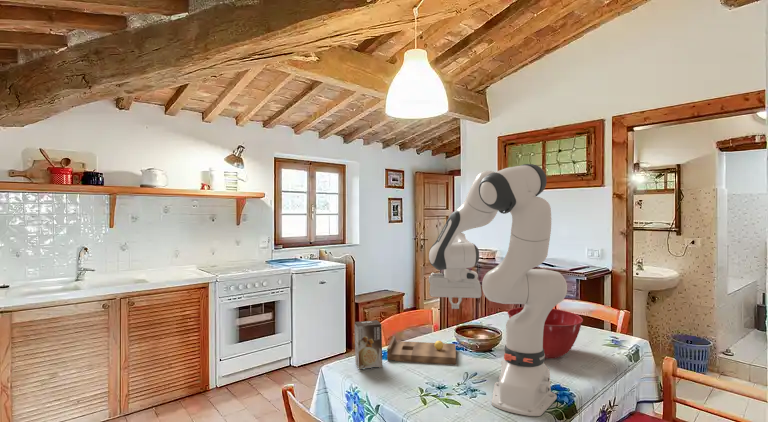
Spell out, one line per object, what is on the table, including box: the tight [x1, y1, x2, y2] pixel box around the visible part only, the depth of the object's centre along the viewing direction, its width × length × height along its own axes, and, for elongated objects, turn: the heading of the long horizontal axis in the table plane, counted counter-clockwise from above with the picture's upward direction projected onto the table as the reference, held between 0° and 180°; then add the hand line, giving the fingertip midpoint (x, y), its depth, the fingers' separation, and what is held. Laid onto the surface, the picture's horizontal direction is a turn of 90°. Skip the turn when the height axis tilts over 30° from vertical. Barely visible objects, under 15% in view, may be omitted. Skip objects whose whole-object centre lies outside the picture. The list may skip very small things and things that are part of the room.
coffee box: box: [354, 320, 383, 370], centre depth 151 cm, size 9×6×16 cm
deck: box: [386, 335, 457, 365], centre depth 162 cm, size 26×16×4 cm, turn 80°
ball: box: [434, 340, 443, 350], centre depth 161 cm, size 4×4×4 cm
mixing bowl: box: [507, 306, 584, 360], centre depth 164 cm, size 28×28×16 cm
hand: (455, 308), depth 160 cm, fingers closed
